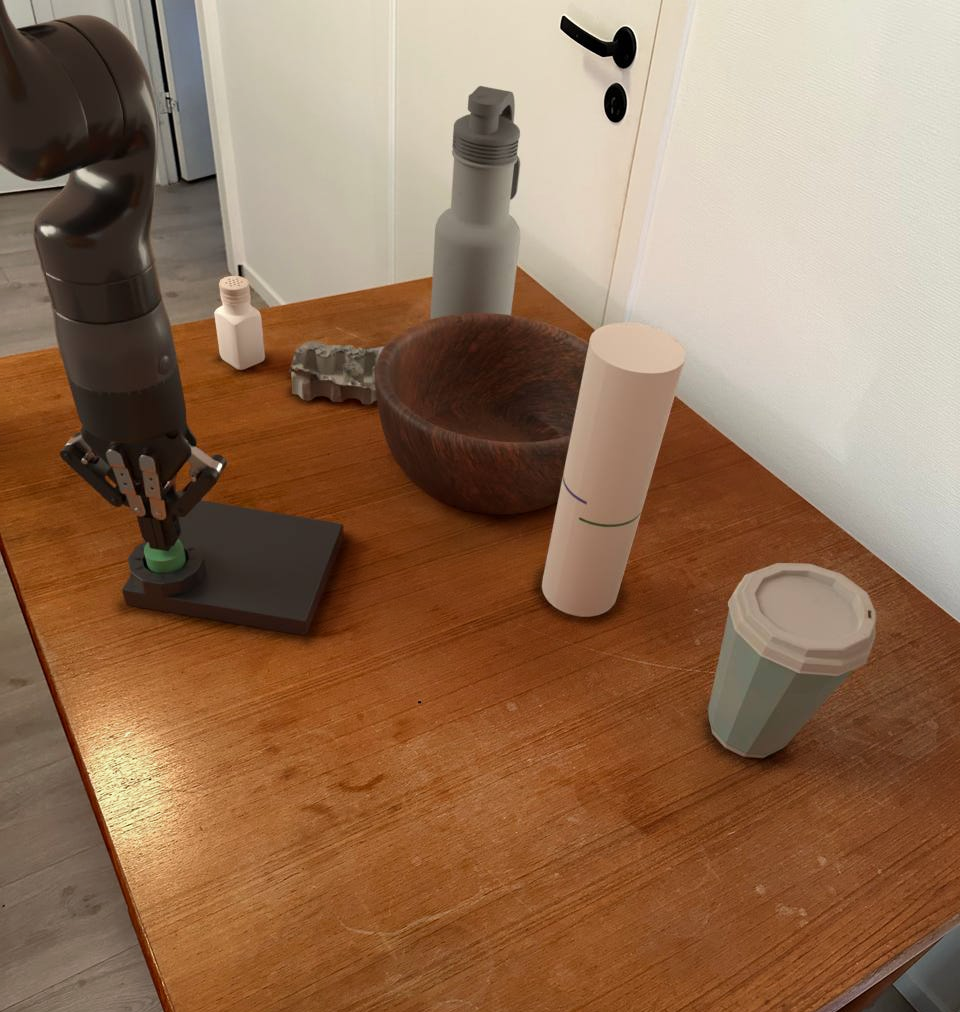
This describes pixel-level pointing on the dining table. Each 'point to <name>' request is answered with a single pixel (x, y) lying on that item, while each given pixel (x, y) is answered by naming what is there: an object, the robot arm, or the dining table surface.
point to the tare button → (165, 558)
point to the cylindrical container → (610, 463)
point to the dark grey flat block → (242, 568)
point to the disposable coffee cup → (786, 653)
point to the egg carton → (334, 372)
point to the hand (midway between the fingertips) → (163, 543)
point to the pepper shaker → (238, 325)
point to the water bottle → (479, 212)
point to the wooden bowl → (481, 408)
